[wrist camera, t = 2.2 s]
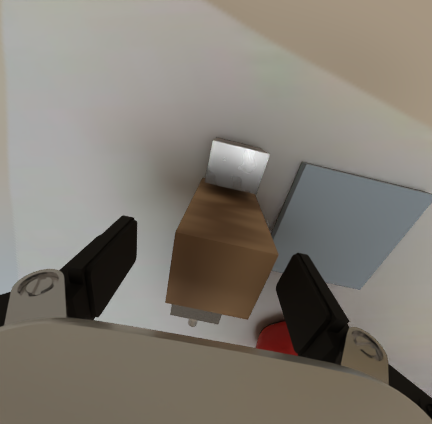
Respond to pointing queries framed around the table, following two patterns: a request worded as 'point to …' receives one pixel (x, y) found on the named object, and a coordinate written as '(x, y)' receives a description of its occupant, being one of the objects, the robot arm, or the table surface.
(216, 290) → the walnut peg
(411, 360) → the table surface
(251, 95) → the table surface
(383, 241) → the pad
